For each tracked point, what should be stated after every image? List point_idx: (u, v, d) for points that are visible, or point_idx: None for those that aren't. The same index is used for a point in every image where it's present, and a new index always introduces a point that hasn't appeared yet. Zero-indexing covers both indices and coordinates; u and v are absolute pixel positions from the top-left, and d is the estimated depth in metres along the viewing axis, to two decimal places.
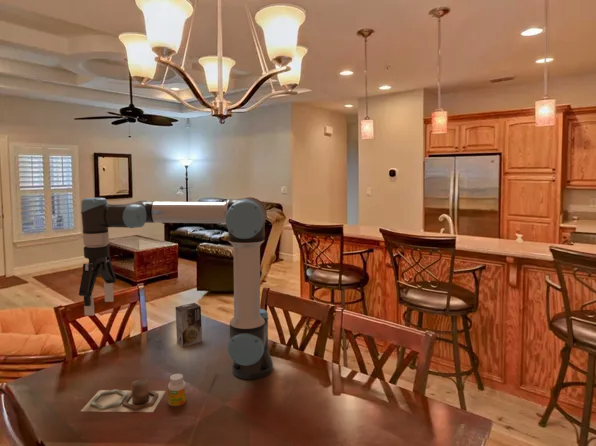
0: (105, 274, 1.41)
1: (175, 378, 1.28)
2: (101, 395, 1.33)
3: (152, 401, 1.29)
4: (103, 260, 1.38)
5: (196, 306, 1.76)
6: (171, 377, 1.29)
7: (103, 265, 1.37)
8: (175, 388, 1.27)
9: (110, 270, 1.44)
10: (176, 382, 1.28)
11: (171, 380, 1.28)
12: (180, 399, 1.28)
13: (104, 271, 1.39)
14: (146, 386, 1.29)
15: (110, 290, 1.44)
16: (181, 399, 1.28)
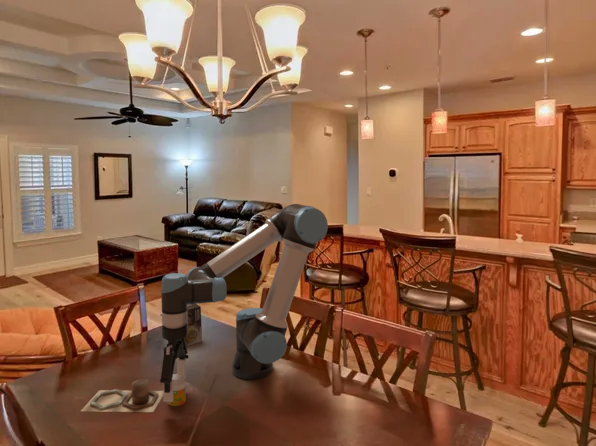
0: (179, 352, 1.33)
1: (175, 378, 1.28)
2: (101, 395, 1.33)
3: (152, 401, 1.29)
4: (180, 338, 1.30)
5: (196, 306, 1.76)
6: None
7: (180, 344, 1.29)
8: (175, 388, 1.27)
9: (184, 346, 1.36)
10: (176, 382, 1.28)
11: None
12: (180, 399, 1.28)
13: (180, 349, 1.31)
14: (146, 386, 1.29)
15: (183, 367, 1.36)
16: (181, 399, 1.28)
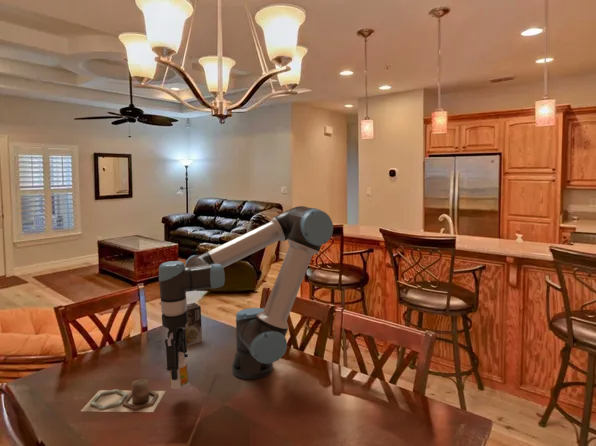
0: (179, 345, 1.30)
1: None
2: (101, 395, 1.33)
3: (152, 401, 1.29)
4: None
5: (196, 306, 1.76)
6: None
7: (181, 332, 1.28)
8: None
9: (183, 340, 1.33)
10: None
11: None
12: (181, 376, 1.27)
13: (180, 340, 1.30)
14: (146, 386, 1.29)
15: None
16: (183, 377, 1.28)
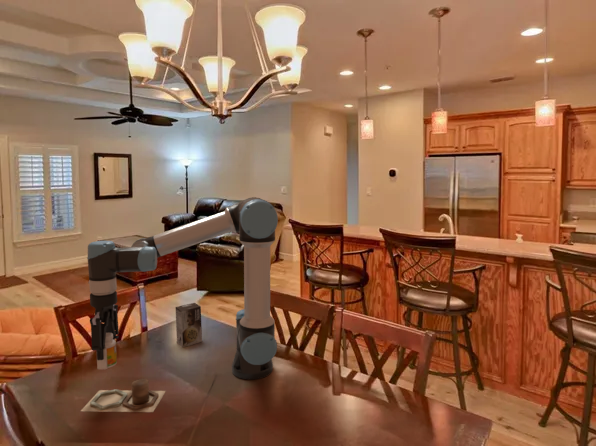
0: (109, 326, 1.30)
1: None
2: (101, 395, 1.33)
3: (152, 401, 1.29)
4: (111, 305, 1.29)
5: (196, 306, 1.76)
6: None
7: (110, 312, 1.28)
8: None
9: (115, 322, 1.32)
10: None
11: None
12: (108, 357, 1.26)
13: (109, 321, 1.29)
14: (146, 386, 1.29)
15: None
16: (110, 357, 1.27)
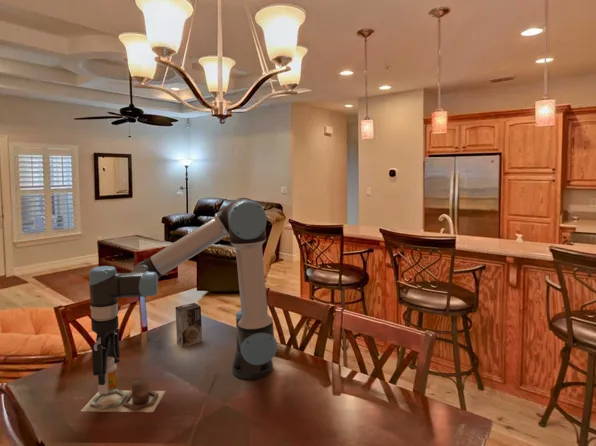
0: (110, 350, 1.31)
1: None
2: (101, 395, 1.33)
3: (152, 401, 1.29)
4: None
5: (196, 306, 1.76)
6: None
7: (111, 337, 1.29)
8: None
9: (116, 346, 1.33)
10: None
11: None
12: (109, 381, 1.27)
13: (110, 345, 1.30)
14: (146, 386, 1.29)
15: None
16: (111, 382, 1.28)
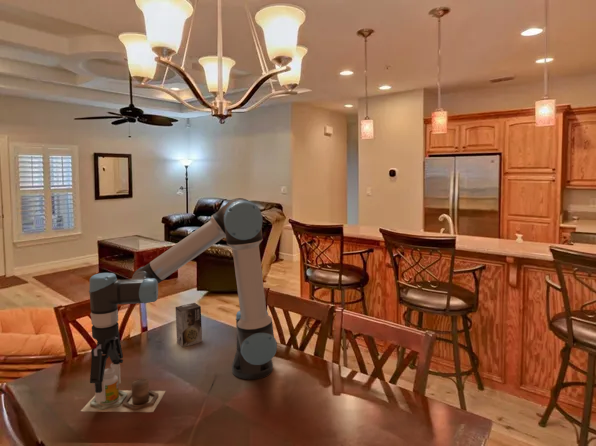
0: (112, 354, 1.32)
1: (106, 372, 1.28)
2: None
3: (152, 401, 1.29)
4: None
5: (196, 306, 1.76)
6: None
7: (112, 343, 1.29)
8: (105, 382, 1.27)
9: (118, 348, 1.35)
10: (106, 377, 1.28)
11: None
12: (110, 393, 1.28)
13: (112, 350, 1.31)
14: (146, 386, 1.29)
15: (117, 371, 1.34)
16: (112, 394, 1.28)
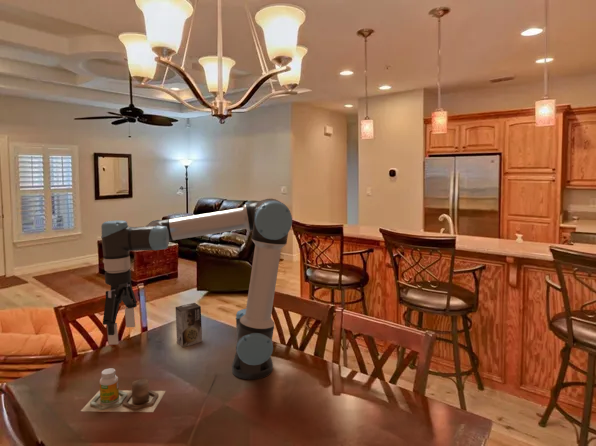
0: (126, 299, 1.35)
1: (106, 372, 1.28)
2: None
3: (152, 401, 1.29)
4: (124, 285, 1.32)
5: (196, 306, 1.76)
6: (103, 371, 1.29)
7: (125, 290, 1.31)
8: (105, 382, 1.27)
9: (131, 294, 1.38)
10: (107, 376, 1.28)
11: (102, 374, 1.28)
12: (111, 393, 1.28)
13: (125, 296, 1.34)
14: (146, 386, 1.29)
15: (131, 315, 1.38)
16: (112, 394, 1.28)
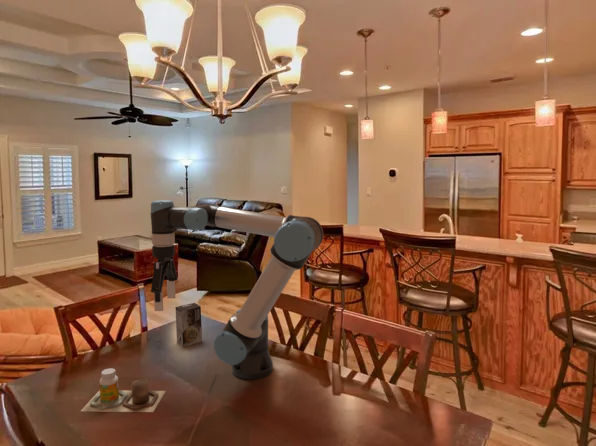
0: (169, 272, 1.49)
1: (106, 372, 1.28)
2: None
3: (152, 401, 1.29)
4: (168, 259, 1.46)
5: (196, 306, 1.76)
6: (103, 372, 1.29)
7: (169, 264, 1.45)
8: (105, 382, 1.27)
9: (173, 268, 1.52)
10: (107, 377, 1.28)
11: (102, 374, 1.28)
12: (111, 393, 1.28)
13: (169, 269, 1.48)
14: (146, 386, 1.29)
15: (173, 287, 1.52)
16: (112, 394, 1.28)
